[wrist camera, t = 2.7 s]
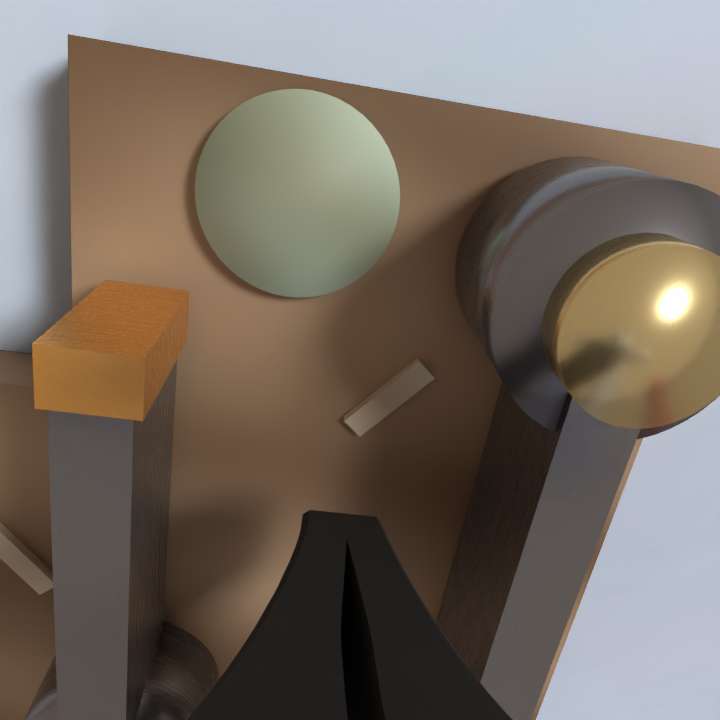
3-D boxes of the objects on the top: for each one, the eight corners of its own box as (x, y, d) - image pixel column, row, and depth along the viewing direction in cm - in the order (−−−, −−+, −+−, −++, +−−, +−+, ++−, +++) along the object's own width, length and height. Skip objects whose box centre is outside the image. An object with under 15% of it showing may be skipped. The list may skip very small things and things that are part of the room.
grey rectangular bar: (213, 739, 17) (183, 913, 13) (54, 728, 16) (-22, 907, 13) (259, 297, 12) (231, 386, 8) (36, 267, 11) (-91, 347, 8)
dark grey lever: (482, 138, 11) (555, 163, 7) (698, 175, 11) (863, 215, 8) (367, 653, 16) (379, 817, 12) (524, 666, 16) (578, 827, 13)
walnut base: (501, 724, 19) (518, 783, 18) (-69, 684, 18) (-109, 745, 16) (706, 146, 13) (761, 155, 11) (-165, -6, 11) (-250, -22, 10)
